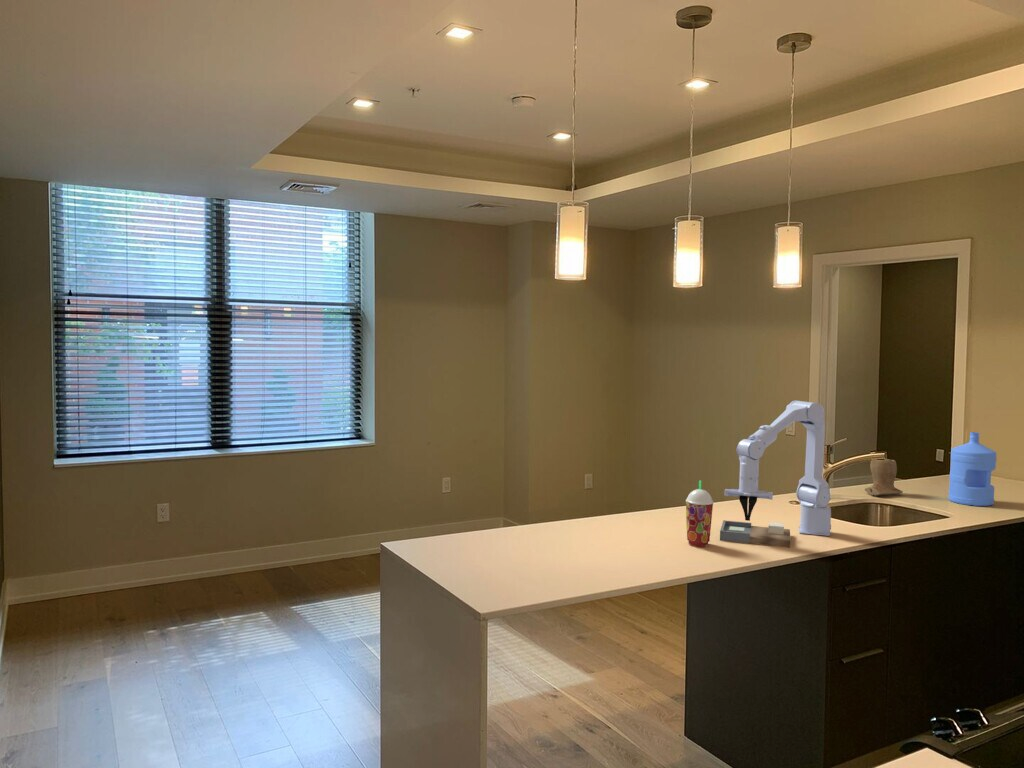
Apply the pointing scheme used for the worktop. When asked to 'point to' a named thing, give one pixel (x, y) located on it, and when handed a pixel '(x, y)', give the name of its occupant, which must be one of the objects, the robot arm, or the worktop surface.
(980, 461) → the water jug
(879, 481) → the stone cup
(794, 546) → the worktop surface
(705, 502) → the smoothie
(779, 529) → the cream tile
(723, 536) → the slate tray
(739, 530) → the sage tile
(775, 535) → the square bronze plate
